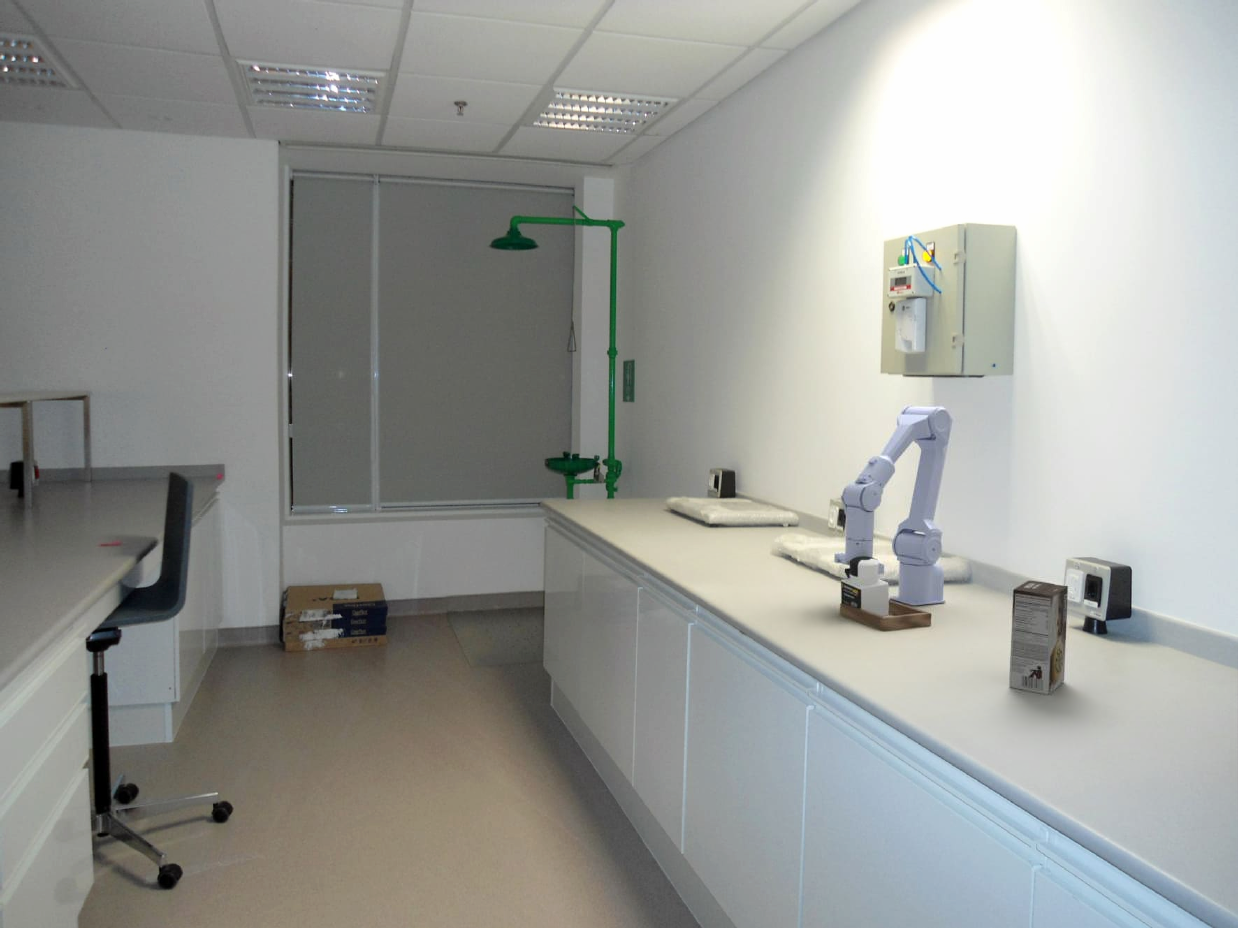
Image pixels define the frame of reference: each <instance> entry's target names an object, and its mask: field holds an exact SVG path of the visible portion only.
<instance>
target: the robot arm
mask: <svg viewBox="0 0 1238 928" xmlns="http://www.w3.org/2000/svg"><path fill="white" fill-rule="evenodd" d="M952 425H953V419H952V417H951V415H950V413H949V411H948V409H947V408H946V407H944V406H914V405H907V406H905V407H904V408H903V409H902V411H901V412H900V414H899V415H898V416H897V417H896V428H895V430H894V432H893V433H892V435H891V437H890V438H889V440H888V442H887V443H886V446H885V447H884V448H883V450H882V452H881V453H880V454H879V455H875V456H872V457H870V458H869V460H868V461H867V465H865V467H864V468H863V469H862V471H861V473H860V474H859V475H858V477H857V478H856V480H855V481H854V482H851V483H848V485H846V486H845V488H844V489H843V491H842V494H841V495H840V502H841V503H842V506H843V509H844V515H845V516H846V521H845V550H844V551H845V552H844V553H834V563H836V564H843V565H847V566H849V568H844V574H845V576H846V579H847V578H850V560H851V559H853V558H855V557H860V556H867V557H873V554H874V552H873V551H874V530H875V528H874V526H875V518H874V517H875V510H877V508H878V507H880V505H881V502H882V496H883V494H884V488H885V487H886V485H887V484H888V482H889V481H890V480H891V479H892V477H893V475H894V474H895V472H896V467H895V464H896V462H897V461H898V460H899V458H900V457H901V456H902V455H903V454H904V453H905V451H906V450H907V449H908V448H909V447H910V446H911V444H912V443H913V442H914V443H915V444H917V445H918V446H919V449H920V456H919V459H918V466H917V467H918V468H917V472H916V478H915V483H914V487H913V493H912V497H911V503H910V507H909V508H910V509H909V514H908V517H907V518H905V519H904V520H902V522H900V523H899V524H898V527H897V531H896V533H895V535H893V538H892V542H891V547H892V552H893V554H894V556H896V561H898V562H899V567H898V568H899V569H898V571H899V573H898V595H892V596H889V600H892V601H897V602H899V603H902V604H905V605H908V606H909V605H910V606H912V607H914V606H915V607H916V606H923V605H924V606H925V605H932V604H940V603H941V604H943V603H946V599H944V587H945V586H944V581H945V573H944V570H943V567H942V565H941V564H940V563H939V562H937V561H938V560H939V558H940V557H941V555H942V552H943V546H942V545H943V544H942V535H943V532H942V531H941V529H940V528H939V527H938V525H936V524H935V522H934V520H935V516H936V515H935V514H936V511H937V510H936V509H937V504H938V499H939V493H940V488H941V484H942V478H943V472H944V469H945V461H946V458H947V457H946V456H947V453H948V446H949V442H950V441H949V440H950V435H951V429H952ZM917 532H919V533H917ZM873 558H874V557H873ZM878 574H879V575H884V574H885V564H883V563H881V562H879V565H878Z"/></svg>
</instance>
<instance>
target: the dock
mask: <svg viewBox="0 0 1238 928" xmlns="http://www.w3.org/2000/svg"><path fill="white" fill-rule="evenodd" d="M839 606H840V607H839V616H841V617H843V618H846V619H850V620H853V621H854V622H858V623H861V624H863V625H866V626H869V627H872V628H874V629H877V630H880V631H882V632H886V631H893V630H894V631H895V630H902V629H904V630H905V629H912V628H921V627H928V626H932V612H928V611H925V610H923V609H920V608H916V607H914V606H911V605H910V606H909V605H908V604H905V603H901V602H898V601H897V602H896V601H895V600H892V599H889V614H890V613H891V616H889V615H888V616H880V615H877V614H874V613H872V612H869V611H866V610H863V609H859V608H857V607H854V606H851V605H848V604H845V603H841V602H840V604H839ZM896 615H897V616H896Z"/></svg>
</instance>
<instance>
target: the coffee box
mask: <svg viewBox="0 0 1238 928" xmlns="http://www.w3.org/2000/svg"><path fill="white" fill-rule="evenodd" d="M1068 590H1069V586H1068V585H1062V584H1055V583H1051V582H1045V581H1037V580H1027V581H1025V582H1023V583H1022V584H1020V585H1018V586H1017V587H1015V588H1013V590H1012V615H1011V635H1010V636H1011V637H1010V638H1011V639H1010V657H1009V660H1010V661H1009V683H1008V686H1009V688H1013V689H1018V690H1021V691H1027V692H1033V693H1037V694H1042V695H1047V696H1048V695H1051V694H1052V693H1053V692H1054V691H1055V690H1056V689H1057V688H1058V687H1059V686H1061V684H1063V682H1065V671H1066V670H1065V669H1066V666H1065V664H1066V642H1067V621H1068V620H1067V619H1068V617H1067V615H1068V596H1069V595H1068Z"/></svg>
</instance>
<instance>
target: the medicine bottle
mask: <svg viewBox="0 0 1238 928" xmlns="http://www.w3.org/2000/svg"><path fill="white" fill-rule="evenodd" d="M879 563H880V561H879V560H878V559H877V558H875V557H867V556H860V557H855V558H853V559H851V560H850V566H849V568H850V578H847V577H846V578H843V579H841V580H840V603H845V604H848V605H851V606H854V607H857V608H859V609H863V610H866V611H869V612H872V613H874V614H877V615H880V616H883V617H888V616H889V614H890V613H889V600H890V596H889V595H890V594H889V588H890V587H889V585H890V584H889V583H888V582H887V581H884V580H882V579H880V574H878V565H879Z"/></svg>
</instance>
